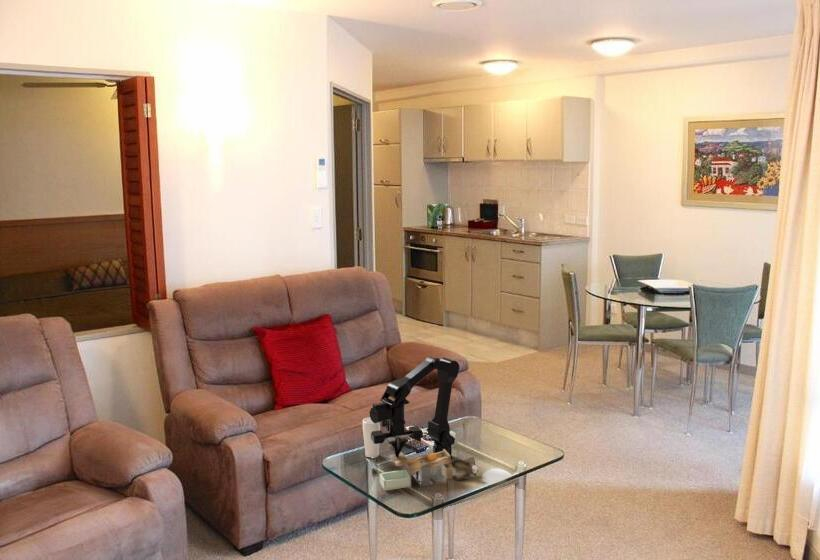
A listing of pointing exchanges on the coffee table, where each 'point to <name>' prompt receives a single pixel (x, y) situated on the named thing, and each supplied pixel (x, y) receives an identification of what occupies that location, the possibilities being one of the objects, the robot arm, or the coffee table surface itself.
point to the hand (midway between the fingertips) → (396, 456)
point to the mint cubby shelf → (395, 480)
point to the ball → (431, 456)
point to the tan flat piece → (421, 460)
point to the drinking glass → (370, 447)
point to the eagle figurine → (466, 467)
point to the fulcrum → (424, 474)
